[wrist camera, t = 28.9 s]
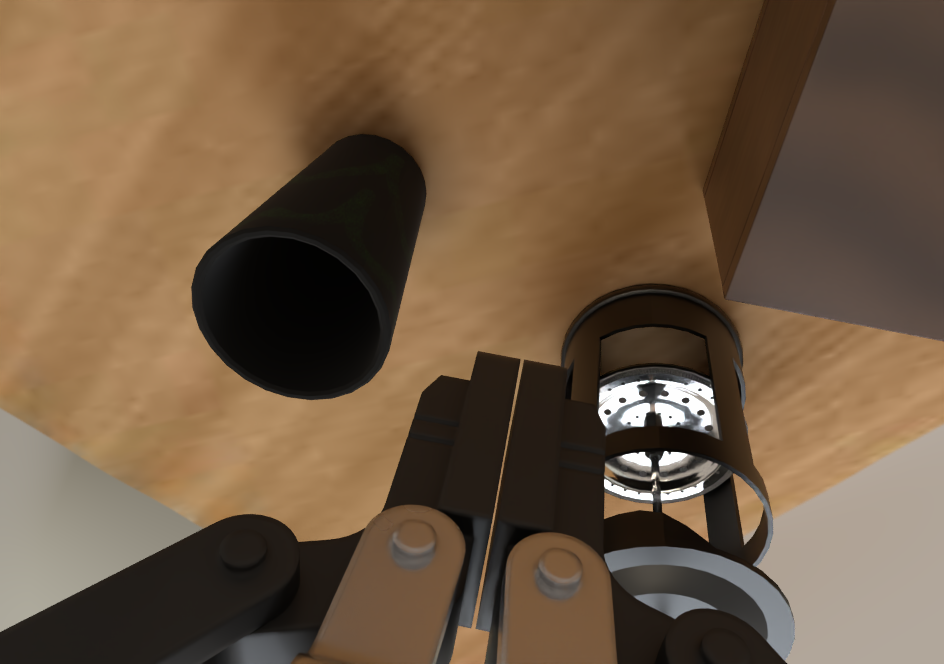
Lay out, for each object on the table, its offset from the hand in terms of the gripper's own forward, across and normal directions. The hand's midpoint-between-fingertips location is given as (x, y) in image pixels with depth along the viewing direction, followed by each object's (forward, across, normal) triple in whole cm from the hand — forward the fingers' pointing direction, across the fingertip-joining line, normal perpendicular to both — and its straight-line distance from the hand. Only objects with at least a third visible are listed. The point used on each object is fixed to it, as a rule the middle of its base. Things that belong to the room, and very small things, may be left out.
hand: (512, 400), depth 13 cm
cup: (+25, +9, +9) cm, 28 cm away
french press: (+26, -7, +16) cm, 31 cm away
